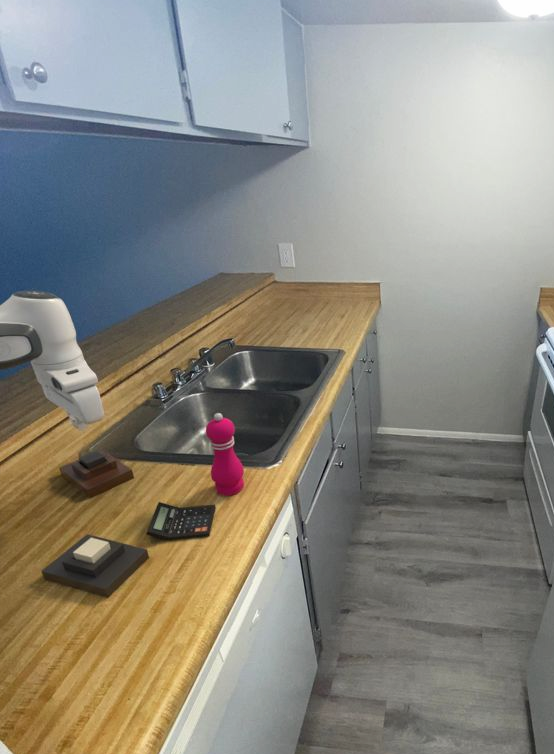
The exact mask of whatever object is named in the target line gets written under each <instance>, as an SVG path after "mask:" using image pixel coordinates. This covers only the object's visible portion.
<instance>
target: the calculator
mask: <svg viewBox="0 0 554 754" xmlns="http://www.w3.org/2000/svg"><path fill="white" fill-rule="evenodd" d="M215 512H216V504H215V503H214V504H204V505H194V506H184V507H178V506H175V505H171V504H169V503H164V502H161V501H158V503H157V505H156V507H155V509H154V512H153V515H152V518H151V520H150V523H149V525H148V528H147V530H146V533H145V535H146V536H151V537H155V538H159V539H163V540H166V541H178V540H189V539H198V538H206V537H207V538H208V537H210V535H211V530H212V525H213V521H214V517H215Z"/></svg>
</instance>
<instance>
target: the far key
mask: <svg viewBox="0 0 554 754" xmlns="http://www.w3.org/2000/svg"><path fill="white" fill-rule="evenodd" d="M78 460H79V461H80V463H81V464H82V465H83V466H84V467H86V468H87V469H90V468H92V467H95V466H97V465H99V464H102V463H104V462H106V459H105V456H104V455H102V454H101V453H99V450H94V451H91V452H89V453H87V454H84V455H82V456H80V457H78Z"/></svg>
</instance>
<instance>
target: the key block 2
mask: <svg viewBox="0 0 554 754" xmlns="http://www.w3.org/2000/svg"><path fill="white" fill-rule="evenodd" d="M90 538H94V539H98V540H102V541H106V542H109V545H110V548H111V549H110V550H109V551H108V552H107V553H105V554H104V555H103V556H102V557H101V558H100V559H98V560H97V561H96V562H95V563H94V564H91V563H87V562H83V561H80V560H76V559H75V556H74V554H73V552H74V551H75V550H77V549H78V548H79V547H80V546H81V545H83V544H84V543H85V542H86V541H88V540H89V539H90ZM148 559H150V555H149V552H148V549H146V548H143V547H140V546H135V545H133V544H132V545H131V544H128V543H125V542H119V541H115V540H111V539H108V538H104V537H99V536H96V535H93V534H89V533H88V534H86V535H84V536H83V537H81V538H80V539H79V540H78V541H76V543H74V544H73V545H72V546H70V547H69V548H68V549H67V550H66V551H64V552H63V553H61V554H60V555H59V556H58V557H57V558H55V559H54V560H53V561H52V562H50V563H49V564H48V565H47V566H45V567H44V568H43V569H42V570H41V571H40V572H41V574H42V576H43V578H44V580H45V581H48V582H53V583H55V584H59V585H63V586H66V587H70V588H74V589H77V590H80V591H84V592H87V593H90V594H95V595H98V596H101V597H104V598H110V597H111V596H112V595H113V594H114V593H115V592H116V591H117V590H118V589H119V588H120V587H121V586H122V585H123V584H125V582H126V581H127V580H128V579H130V577H131V576H132V575H133V574H134V573H136V572H137V570H138V569H139V568H141V566H142V565H143V564H145V562H147V561H148Z"/></svg>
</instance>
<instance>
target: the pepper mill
mask: <svg viewBox="0 0 554 754" xmlns="http://www.w3.org/2000/svg"><path fill="white" fill-rule="evenodd" d="M235 431H236V428H235V424H234V423H233V421H232V420H230V419H228V418H226V417H223V414H222V413H219V412H217V413H215V414H214V415H213V419H211V420H210V421H208V423H207V424H206V427H205V435H206V437H207V439H209V443H210V447H211V449H212V450H213V453H214V454H213V455H214V458H213V463H212V465H211V468H210V478H211V480H212V481H213V482H214V487H215V492H216V493H217V494H219V495H221V496H226V497H227V496H234V495H237V494H238V493H240V492H241V491H242V490H243V489H244V485H245V483H244V479H243V477H244V475H245V474H244V473H245V469H244V466H243V464H242V461H241V460H240V459H239V458H238V456H237V455H236V453H235V450H234V445H235V438H234V434H235Z"/></svg>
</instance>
